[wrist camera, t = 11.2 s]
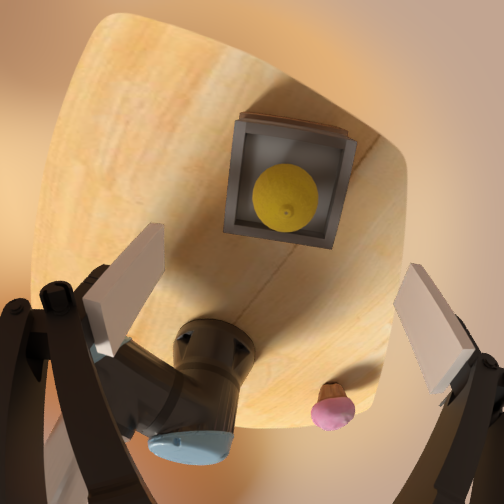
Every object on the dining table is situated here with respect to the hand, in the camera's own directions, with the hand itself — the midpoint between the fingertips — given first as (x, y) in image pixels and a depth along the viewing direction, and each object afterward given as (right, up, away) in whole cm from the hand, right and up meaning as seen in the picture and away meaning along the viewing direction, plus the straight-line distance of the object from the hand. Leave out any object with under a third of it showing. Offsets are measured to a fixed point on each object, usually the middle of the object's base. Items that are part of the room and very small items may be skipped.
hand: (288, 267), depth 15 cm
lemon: (+1, +7, +13) cm, 15 cm away
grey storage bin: (+3, +12, +22) cm, 25 cm away
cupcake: (+15, -28, +42) cm, 53 cm away
